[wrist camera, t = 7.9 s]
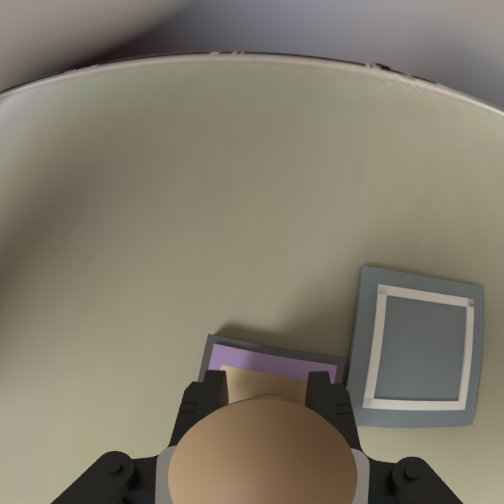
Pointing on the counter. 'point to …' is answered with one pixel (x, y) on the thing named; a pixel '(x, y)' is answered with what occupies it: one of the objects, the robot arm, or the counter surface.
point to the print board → (415, 350)
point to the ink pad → (267, 359)
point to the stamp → (263, 449)
